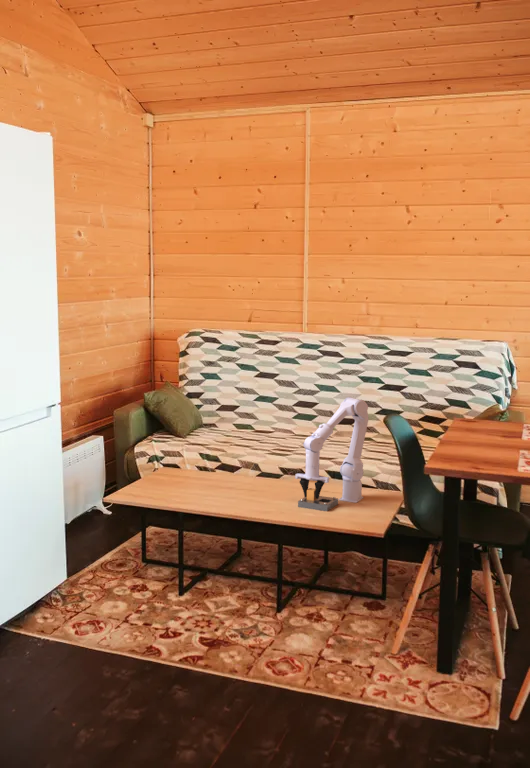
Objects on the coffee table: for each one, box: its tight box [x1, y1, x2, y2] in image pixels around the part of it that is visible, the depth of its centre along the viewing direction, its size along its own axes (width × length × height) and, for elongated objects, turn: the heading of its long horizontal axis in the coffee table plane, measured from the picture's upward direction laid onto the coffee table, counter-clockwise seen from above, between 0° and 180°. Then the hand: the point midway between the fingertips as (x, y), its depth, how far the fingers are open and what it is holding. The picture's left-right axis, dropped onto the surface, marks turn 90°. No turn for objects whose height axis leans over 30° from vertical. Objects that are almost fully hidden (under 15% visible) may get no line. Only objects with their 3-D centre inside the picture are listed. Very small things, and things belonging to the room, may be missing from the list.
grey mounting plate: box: [297, 495, 339, 512], centre depth 323 cm, size 12×13×3 cm
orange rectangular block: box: [307, 487, 317, 501], centre depth 324 cm, size 3×3×6 cm
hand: (311, 497), depth 324 cm, fingers open, 4 cm apart
